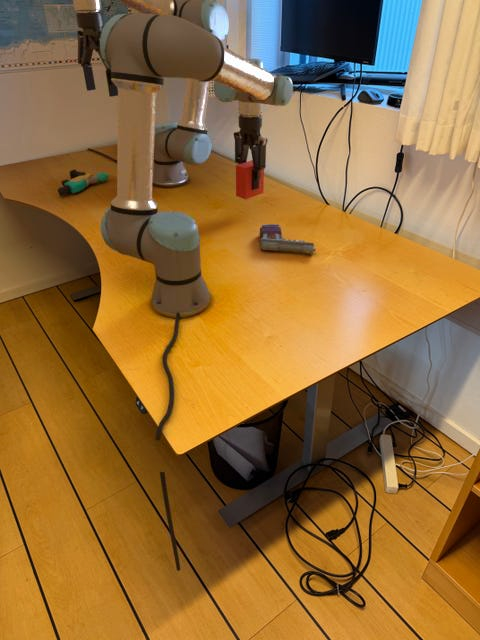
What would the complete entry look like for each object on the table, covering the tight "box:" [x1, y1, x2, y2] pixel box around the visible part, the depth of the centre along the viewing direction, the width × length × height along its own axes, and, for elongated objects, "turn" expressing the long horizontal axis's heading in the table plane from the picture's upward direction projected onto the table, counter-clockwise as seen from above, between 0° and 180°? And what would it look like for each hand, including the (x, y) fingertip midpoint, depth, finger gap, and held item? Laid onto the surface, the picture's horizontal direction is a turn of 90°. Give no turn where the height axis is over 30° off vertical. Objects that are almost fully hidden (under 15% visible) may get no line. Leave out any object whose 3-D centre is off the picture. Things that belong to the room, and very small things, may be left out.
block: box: [235, 160, 265, 200], centre depth 162 cm, size 5×9×11 cm, turn 134°
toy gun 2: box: [259, 223, 317, 255], centre depth 150 cm, size 4×19×15 cm
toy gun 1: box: [57, 168, 110, 197], centre depth 194 cm, size 4×26×15 cm
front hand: (249, 186), depth 164 cm, fingers closed on block, 5 cm apart
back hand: (102, 93), depth 148 cm, fingers open, 13 cm apart
